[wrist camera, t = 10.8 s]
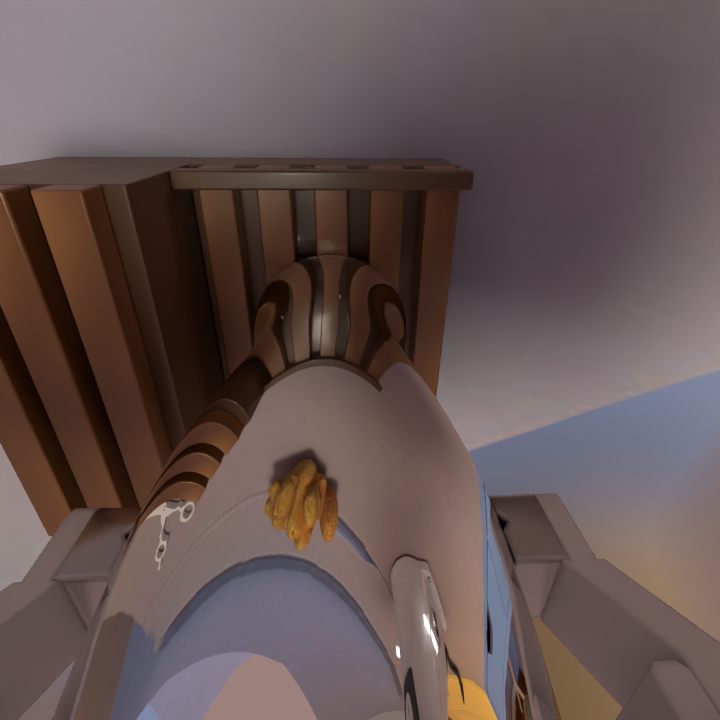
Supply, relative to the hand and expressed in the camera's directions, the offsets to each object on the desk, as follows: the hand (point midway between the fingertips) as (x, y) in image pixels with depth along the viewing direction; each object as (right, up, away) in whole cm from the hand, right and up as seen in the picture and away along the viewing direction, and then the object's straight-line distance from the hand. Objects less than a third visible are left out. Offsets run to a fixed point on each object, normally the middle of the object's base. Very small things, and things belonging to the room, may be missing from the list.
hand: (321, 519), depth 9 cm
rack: (-4, +7, +12) cm, 14 cm away
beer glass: (0, +5, +8) cm, 10 cm away
